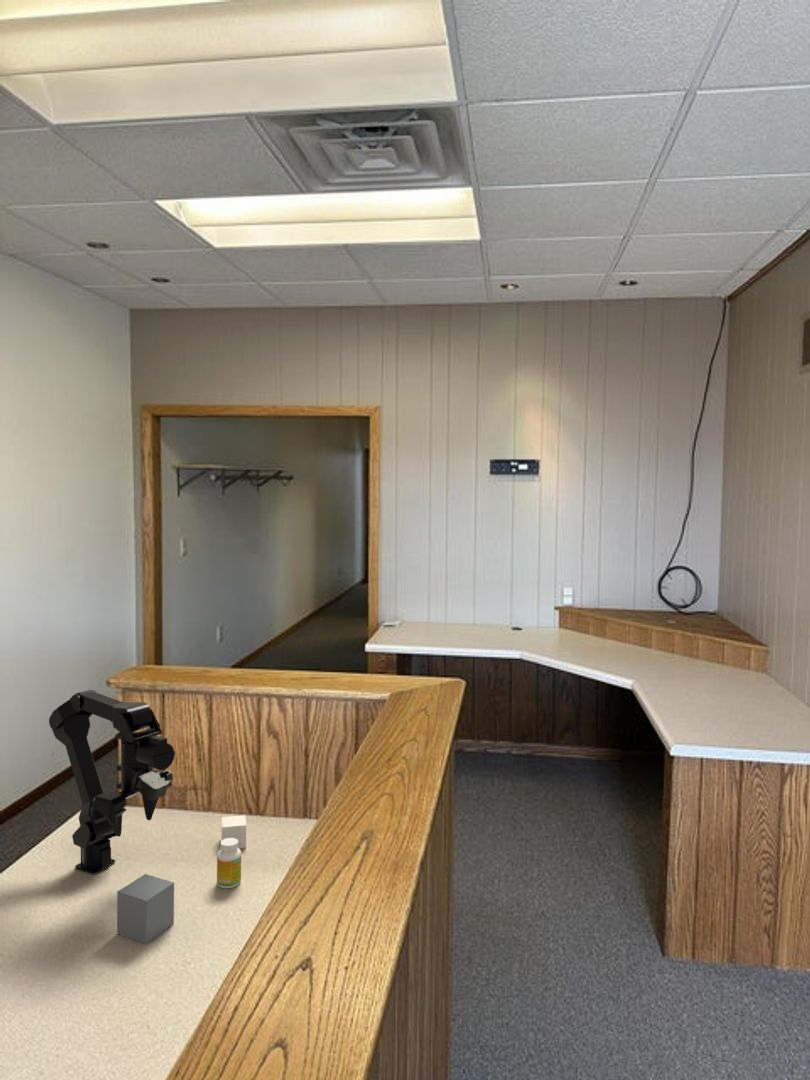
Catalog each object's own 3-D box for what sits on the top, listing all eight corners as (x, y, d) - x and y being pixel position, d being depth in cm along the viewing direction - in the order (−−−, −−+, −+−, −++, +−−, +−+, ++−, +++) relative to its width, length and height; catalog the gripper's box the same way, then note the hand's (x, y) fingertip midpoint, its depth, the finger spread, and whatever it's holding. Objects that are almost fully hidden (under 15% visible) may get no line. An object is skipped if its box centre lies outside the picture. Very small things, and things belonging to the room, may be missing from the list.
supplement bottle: (234, 890, 162) (235, 848, 162) (212, 887, 163) (213, 845, 163) (244, 878, 168) (245, 837, 167) (223, 875, 169) (223, 835, 168)
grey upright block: (117, 934, 145) (117, 891, 145) (145, 914, 152) (145, 873, 152) (146, 944, 142) (146, 900, 142) (173, 923, 149) (174, 882, 149)
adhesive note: (246, 848, 182) (246, 825, 182) (221, 850, 181) (221, 827, 181) (245, 837, 188) (245, 815, 188) (221, 839, 187) (221, 817, 186)
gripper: (129, 780, 151) (129, 853, 152) (190, 753, 168) (189, 819, 169) (91, 771, 156) (90, 842, 156) (153, 745, 173) (153, 809, 173)
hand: (133, 827), depth 164 cm, fingers open, 9 cm apart
